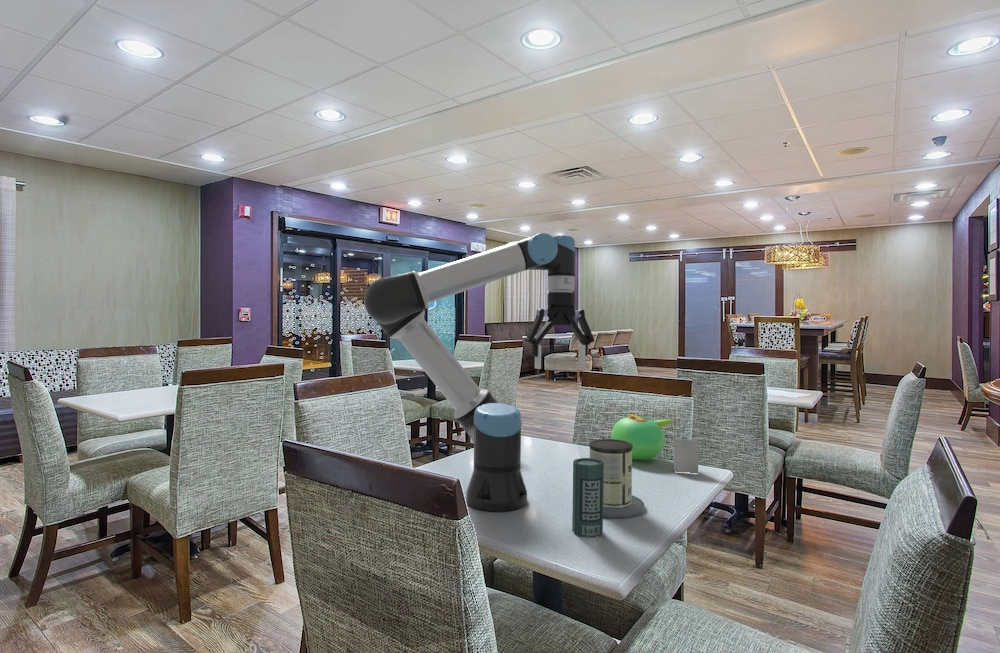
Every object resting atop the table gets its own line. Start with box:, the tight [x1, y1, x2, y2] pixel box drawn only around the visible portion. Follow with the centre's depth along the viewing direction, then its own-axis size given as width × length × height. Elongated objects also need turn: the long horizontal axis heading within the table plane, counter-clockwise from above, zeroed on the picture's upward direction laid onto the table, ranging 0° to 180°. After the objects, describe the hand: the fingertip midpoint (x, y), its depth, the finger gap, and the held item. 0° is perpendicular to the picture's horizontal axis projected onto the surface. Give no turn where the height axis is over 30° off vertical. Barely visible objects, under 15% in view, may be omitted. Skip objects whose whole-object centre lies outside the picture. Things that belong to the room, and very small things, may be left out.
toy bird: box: [610, 413, 674, 461], centre depth 175 cm, size 18×17×15 cm
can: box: [571, 457, 604, 539], centre depth 114 cm, size 6×6×15 cm
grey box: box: [672, 438, 699, 474], centre depth 159 cm, size 4×7×10 cm, turn 75°
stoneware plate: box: [603, 495, 645, 520], centre depth 130 cm, size 16×16×1 cm
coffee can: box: [588, 438, 633, 508], centre depth 130 cm, size 10×10×14 cm
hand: (560, 368), depth 149 cm, fingers open, 13 cm apart
